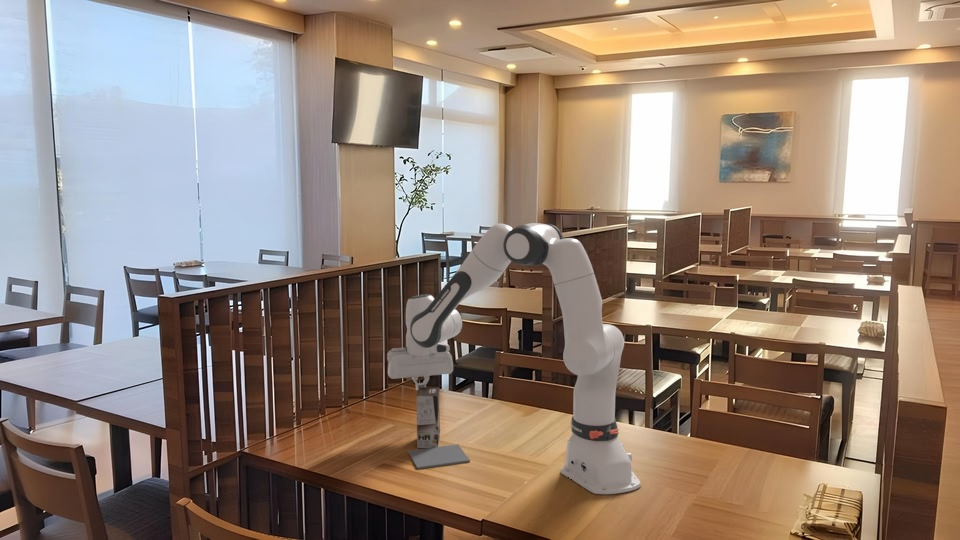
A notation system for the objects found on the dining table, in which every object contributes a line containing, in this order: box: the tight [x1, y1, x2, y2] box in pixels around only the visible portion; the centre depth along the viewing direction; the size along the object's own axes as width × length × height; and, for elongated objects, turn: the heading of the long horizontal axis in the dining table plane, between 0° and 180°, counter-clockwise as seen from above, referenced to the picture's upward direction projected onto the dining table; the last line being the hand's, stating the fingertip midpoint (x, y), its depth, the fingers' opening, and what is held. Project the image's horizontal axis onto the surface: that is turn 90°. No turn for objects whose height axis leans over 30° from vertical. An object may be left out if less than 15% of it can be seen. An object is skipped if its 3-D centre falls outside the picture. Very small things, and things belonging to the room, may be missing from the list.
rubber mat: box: [408, 443, 471, 470], centre depth 192 cm, size 12×15×1 cm
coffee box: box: [416, 386, 441, 449], centre depth 202 cm, size 9×6×16 cm
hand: (420, 389), depth 210 cm, fingers closed
